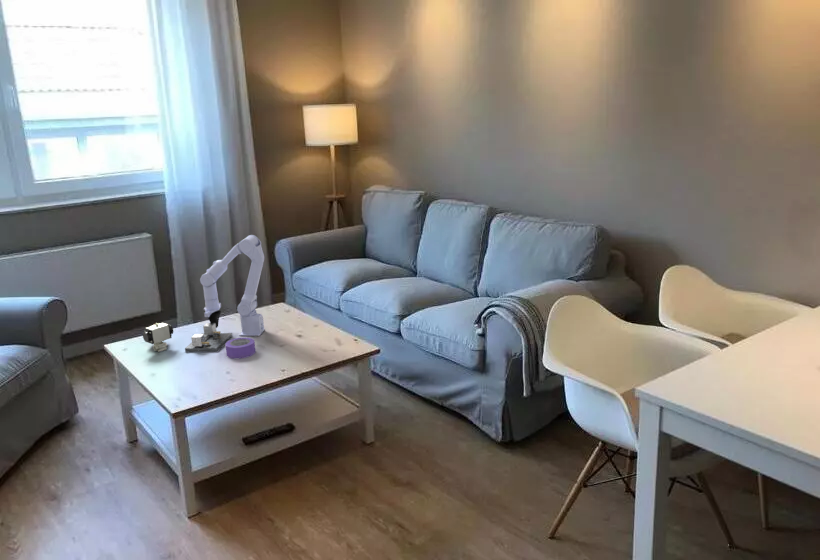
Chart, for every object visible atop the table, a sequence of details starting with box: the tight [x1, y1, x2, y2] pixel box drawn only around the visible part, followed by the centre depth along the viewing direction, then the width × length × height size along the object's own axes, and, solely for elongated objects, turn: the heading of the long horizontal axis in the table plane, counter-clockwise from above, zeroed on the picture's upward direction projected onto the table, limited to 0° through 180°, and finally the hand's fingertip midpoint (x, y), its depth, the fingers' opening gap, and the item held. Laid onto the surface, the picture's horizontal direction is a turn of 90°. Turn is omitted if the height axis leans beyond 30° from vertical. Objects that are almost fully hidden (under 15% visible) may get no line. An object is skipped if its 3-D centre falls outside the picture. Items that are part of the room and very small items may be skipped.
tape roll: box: [224, 336, 256, 359], centre depth 287 cm, size 12×12×5 cm
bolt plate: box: [184, 332, 233, 353], centre depth 299 cm, size 14×18×6 cm
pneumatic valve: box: [142, 322, 174, 353], centre depth 294 cm, size 6×12×12 cm, turn 140°
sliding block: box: [203, 322, 221, 335], centre depth 305 cm, size 6×4×4 cm, turn 84°
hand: (215, 327), depth 311 cm, fingers closed
